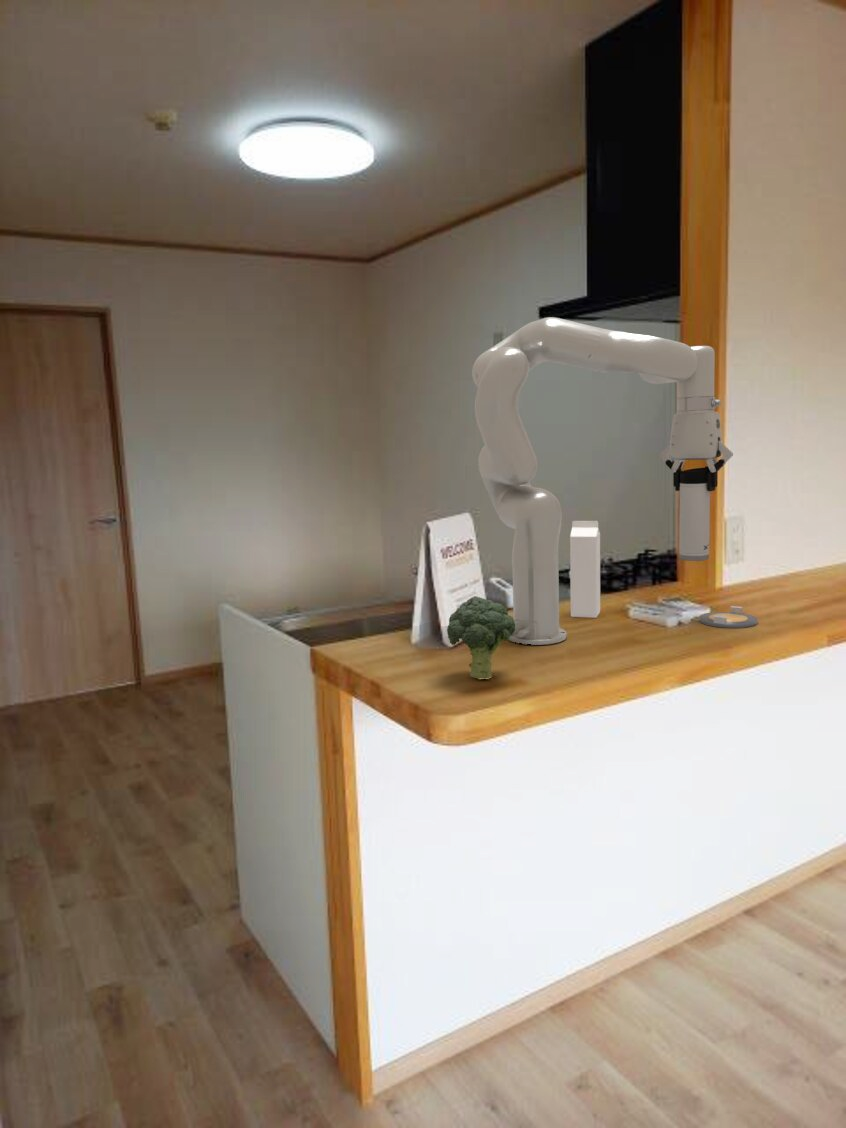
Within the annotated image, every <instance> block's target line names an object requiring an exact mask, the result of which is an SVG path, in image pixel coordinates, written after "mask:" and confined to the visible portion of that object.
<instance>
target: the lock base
mask: <svg viewBox="0 0 846 1128" xmlns="http://www.w3.org/2000/svg"><path fill="white" fill-rule="evenodd" d="M729 609H730V611H712V612H705V613H702V614H701V615H699V622H700V623H701V624H703V625H706V626H708V627H714V628H723V629H745V628H751V627H755V626H757V625H758V621H759V620H758V619H759V618H758V617H756V616H755V615H753V614H748V613H743V607H742V606H737V605H736V606H734V605H731V606H730V607H729ZM756 624H757V625H756Z"/></svg>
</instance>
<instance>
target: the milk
mask: <svg viewBox="0 0 846 1128" xmlns="http://www.w3.org/2000/svg"><path fill="white" fill-rule="evenodd" d="M571 524H572V525H571V530H570V535H569V544H570V545H569V546H570V547H569V554H570V555H569V558H570V559H569V560H570V561H569V565H570V567H569V569H570V570H569V571H570V574H569V575H570V578H569V580H570V582H569V584H570V588H569V589H570V617H571V618H591V619H592V618H594V619H597V618H598V616H599V614H600V613H601V532H600V528H599V522H598V520H572V521H571Z"/></svg>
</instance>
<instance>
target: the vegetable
mask: <svg viewBox="0 0 846 1128" xmlns="http://www.w3.org/2000/svg"><path fill="white" fill-rule="evenodd" d="M515 629H516V628H515V623H514V619H513V616H512V615H509V613H508V610H506V607H505V606H504V605H502V603H499V602H494V601H493V600H491V599H486V598H483V597H479V596H477V595H474V596H472V597H470V598H468V599H467V600H466V601H464V602H462V603H461V604H460V605H459V607H458V608H456V610H455V611H454V612H453V613H451V614H450V617H449V618H448V625H447V628H446V632H447V638H448V640H449V643H450V645H452V646H454V645H456V644H457V643H459V641H460V639H461V641H462V642H463V643H465V644H466V646H467V647H468V648H469V651H470V655H471V663H469V664H468V666H469V668H470V673H469V677H471V678H474V679H476V678H489V677H491V676H492V675H493V674H492V670H491V669H492V661H491V658H492V656H493V655H494V654H495V652H496V651H497V649H498V647H499V646H500V644H501V643H502V642H508V641H509V638H510V636H511V635H512V634H513V633H514V631H515ZM492 677H493V676H492ZM492 677H491V678H492Z"/></svg>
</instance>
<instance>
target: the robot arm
mask: <svg viewBox="0 0 846 1128" xmlns="http://www.w3.org/2000/svg"><path fill="white" fill-rule="evenodd" d="M715 360H716V359H715V349H714V347H712V346H710V345H694V346H693V345H692V346H689V345H688V344H686V343H683V342H680V341H675V340H672V339H668V338H663V337H658V336H653V335H649V334H639V333H631V332H628V331H627V332H626V331H620V330H613V329H607V328H603V327H598V326H594V325H589V324H584V323H581V322H577V321H572V320H569V319H563V318H560V317H554V316H552V317H549V316H547V317H544V318H540V319H537V320H534V321H531V322H528V323H526V324H525V325H524V326H522V327H520V328H519V329H518V330H516V331H515V332H513V333H512V334H510V335H509V336H507V337H506V338H504V339H503V340H501V341H499V342H498V343H497V344H495V345H494V346H492V347H490V348H489V349H487V350H486V351H484V352H483V353H481V354H480V355H479V356H478V357H477V358H476V359H475V361H474V363H473V366H472V370H471V376H472V381H473V383H474V384H475V385H476V387H477V391H476V395H475V398H474V399H475V400H474V414H475V415H474V416H475V419H476V424H477V427H478V430H479V432H480V435H481V438H482V441H483V444H484V446H483V447H482V448H481V450H480V452H479V455H478V462H477V463H478V470H479V473H480V476H481V479H482V482H483V484H484V487H485V488H486V491H487V493H488V497H489V499H490V501H491V503H492V506H493V507H494V510H495V512H496V514H497V516H498V517H499V520H500V521H501V522H502V523H503V524H504V525H505V526H507V527H508V528H510V529H513V530H514V536H513V542H512V548H511V549H512V551H511V553H512V554H511V567H512V604H513V605H512V607H513V608H512V610H513V611H512V612H513V613H512V614H513V615H512V617H513V620H514V623H515V628H516V629H515V631H514V633H513V634H512V635H511V636H510V638H509V640H508V641H510V642H512V643H515V642H516V644H519V643H522V644H521V645H527V644H531V645H530V646H542V645H543V646H544V645H553V644H557V643H560V642H563V641H565V640H566V639H567V636H568V635H567V631H566V630H565V629H564V628H561V627H560V591H559V589H560V587H559V586H560V585H559V584H560V582H559V581H560V579H559V576H560V575H559V569H560V568H559V542H560V533H561V527H562V520H563V515H562V514H563V513H562V512H563V511H562V507H561V503H560V501H559V500H558V498H557V497H556V496H555V494H553V493H552V492H551V491H549V490H547V489H545V488H543V487H536V486H532V485H531V481H532V480H533V479H534V478H535V477H536V474H537V472H538V459H537V456H536V454H535V451H534V449H533V446H532V444H531V441H530V439H529V437H528V433H527V431H526V429H525V427H524V424H523V421H522V418H521V415H520V412H519V411H520V410H519V405H518V403H519V395H520V392H521V390H522V387H523V386H524V384H525V383H526V381H527V379H528V376H529V374H530V373H529V372H530V371H531V370H532V369H534V368H535V367H536V366H538V365H539V364H542V363H545V362H549V363H555V364H561V365H564V366H565V365H566V366H571V367H575V368H580V369H583V370H587V371H588V370H589V371H593V372H597V373H607V374H608V373H609V374H614V373H615V374H618V373H633V374H635V373H637V374H638V375H639V377H640V378H641V379H642V380H643V381H644V382H647V383H649V384H653V385H661V384H670V383H676V385H677V386H676V398H677V399H676V404H677V405H676V413H674V415H673V419H672V423H671V424H672V425H671V430H670V439H669V444H668V445H667V446H666V447H665V448H664V449H663V450H662V451H661V452H660V453H659V454H658V457H659V458H660V459H661V460H662V462H663V463H665V465H666V466H667V467H668V468H669V469H670V470H671V472H672V474H673V487H674V489H675V492H680V480H681V479H680V472H681V471H683V470H682V469H683V466H684V464H685V462H686V461H695V460H698V461H699V460H700V461H702V460H703V461H705V462H706V464H707V466H708V467H709V469H710V470H709V473H707V491H710V492H713V491H715V490H716V488H717V487H718V472H720V470H721V468H723V467H724V466H725V465H726V464H727V462H728V461H729V460H730V459H731V458H732V457H733V456H734V453H733V452H732V451H731V450H730V449H729V448H728V447H727V446H726V445H725V444H724V443H723V436H722V435H723V434H722V426H721V425H722V424H721V419H720V414H719V411H715V410H716V408H717V407H720V406H722V400H721V399H717V398H716V396H715V371H716V370H715ZM721 456H722V457H721ZM719 457H721V458H719ZM671 458H672V459H671ZM718 458H719V460H717V459H718Z"/></svg>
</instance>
